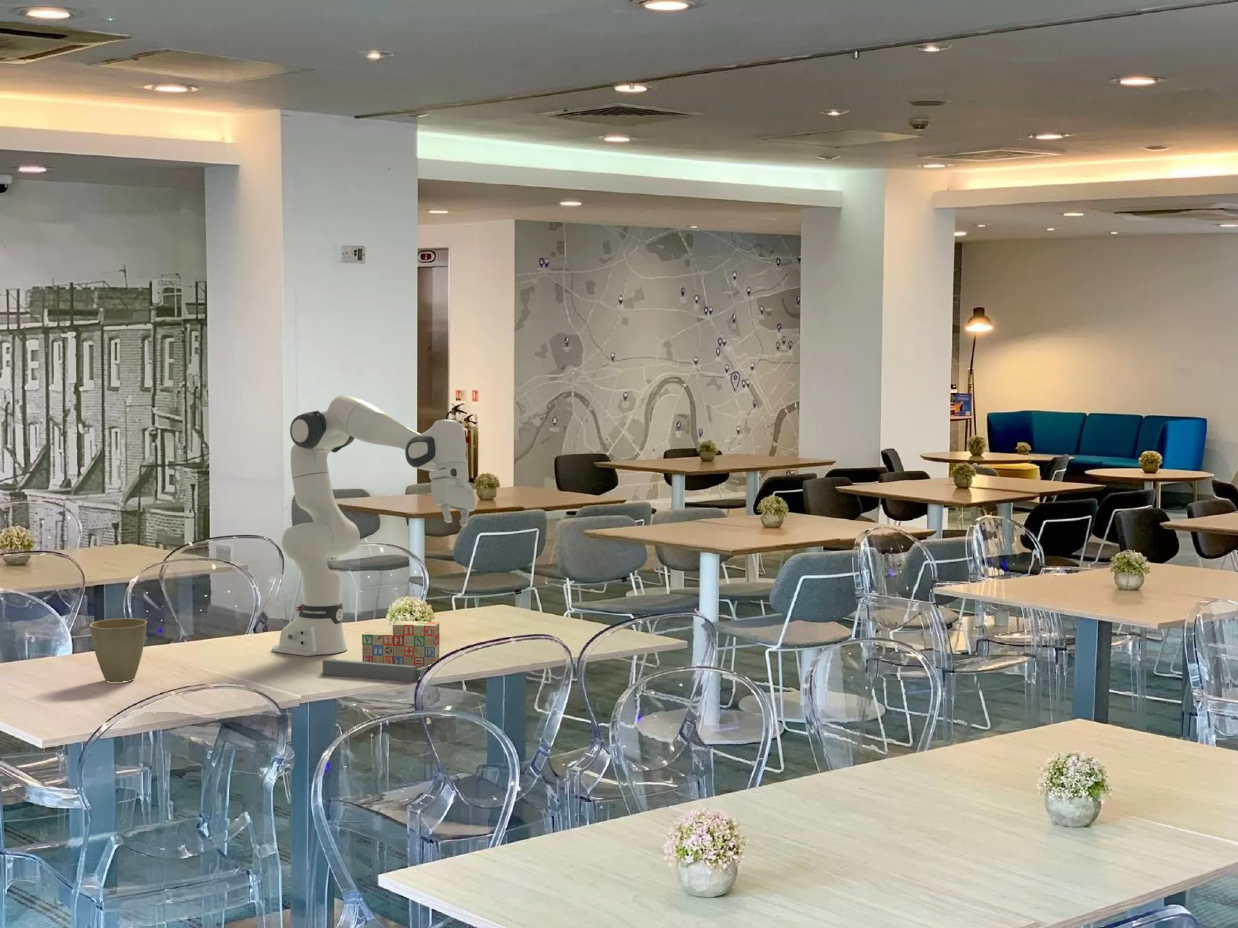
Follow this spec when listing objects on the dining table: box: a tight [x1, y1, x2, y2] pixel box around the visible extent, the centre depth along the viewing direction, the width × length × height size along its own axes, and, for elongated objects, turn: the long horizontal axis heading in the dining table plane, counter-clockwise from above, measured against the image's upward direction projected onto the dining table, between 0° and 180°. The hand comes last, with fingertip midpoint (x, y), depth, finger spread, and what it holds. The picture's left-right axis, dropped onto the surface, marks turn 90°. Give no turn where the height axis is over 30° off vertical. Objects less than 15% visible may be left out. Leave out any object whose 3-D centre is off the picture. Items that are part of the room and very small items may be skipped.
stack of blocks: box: [361, 620, 441, 668], centre depth 443 cm, size 21×6×12 cm, turn 84°
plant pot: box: [89, 617, 148, 682], centre depth 421 cm, size 15×15×16 cm
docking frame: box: [322, 658, 430, 683], centre depth 428 cm, size 30×7×4 cm, turn 70°
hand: (456, 524), depth 431 cm, fingers open, 8 cm apart
